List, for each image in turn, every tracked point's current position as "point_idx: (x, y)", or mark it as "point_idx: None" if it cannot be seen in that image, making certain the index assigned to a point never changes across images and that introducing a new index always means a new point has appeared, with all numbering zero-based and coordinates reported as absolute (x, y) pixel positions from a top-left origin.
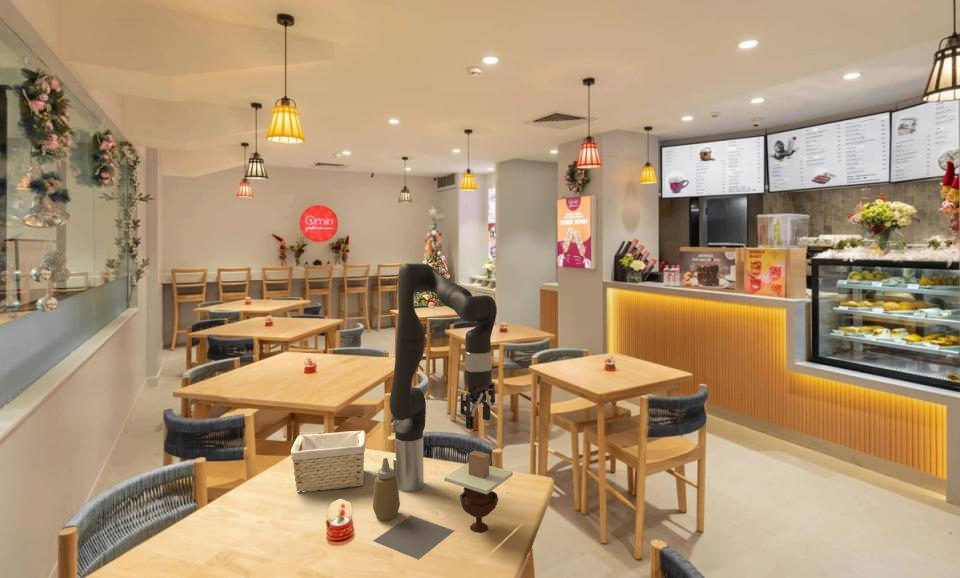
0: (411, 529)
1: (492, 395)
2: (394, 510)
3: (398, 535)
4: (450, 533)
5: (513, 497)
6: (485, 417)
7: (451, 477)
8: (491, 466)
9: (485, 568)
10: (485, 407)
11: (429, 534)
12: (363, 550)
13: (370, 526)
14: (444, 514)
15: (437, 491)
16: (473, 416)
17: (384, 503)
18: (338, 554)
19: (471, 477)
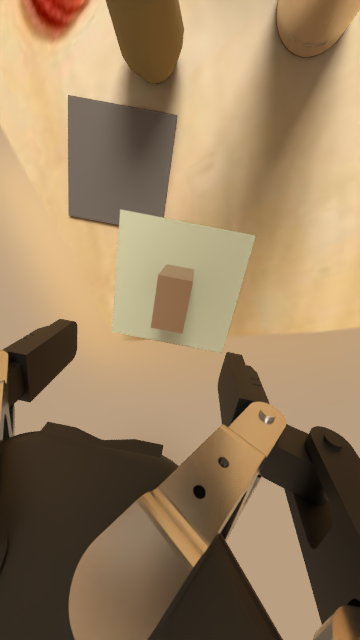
0: (132, 151)
1: (305, 564)
2: (141, 76)
3: (105, 137)
4: None
5: (305, 286)
6: (223, 373)
7: (129, 228)
8: (234, 300)
9: (102, 310)
10: (232, 418)
11: (133, 195)
12: (42, 96)
13: (109, 44)
14: (208, 185)
15: (300, 112)
16: (24, 399)
17: (117, 38)
18: (7, 51)
19: (154, 277)
